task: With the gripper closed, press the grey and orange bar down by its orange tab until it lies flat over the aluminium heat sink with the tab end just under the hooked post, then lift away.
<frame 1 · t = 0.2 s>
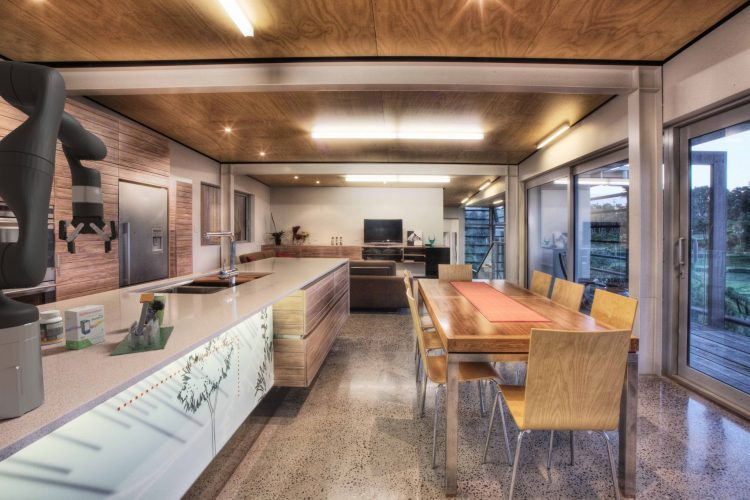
hand: (90, 253, 106), 28 cm above the counter, fingers open, 8 cm apart
grey and orange bar: (143, 313, 107), point 9 cm above the counter, hinge at 30.0°
ink box: (86, 345, 105), on the counter
beverage can: (155, 325, 126), on the counter
pill bottle: (51, 342, 107), on the counter
heatsink board: (144, 342, 106), on the counter
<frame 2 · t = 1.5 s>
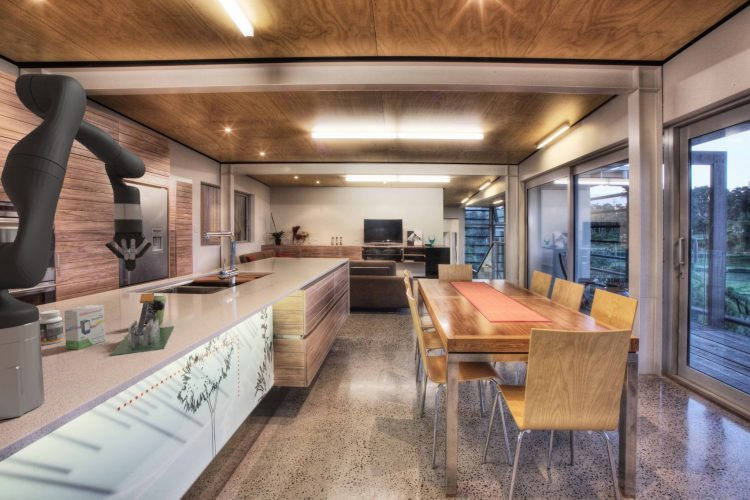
hand: (131, 270, 111), 22 cm above the counter, fingers closed
nothing on the counter moved.
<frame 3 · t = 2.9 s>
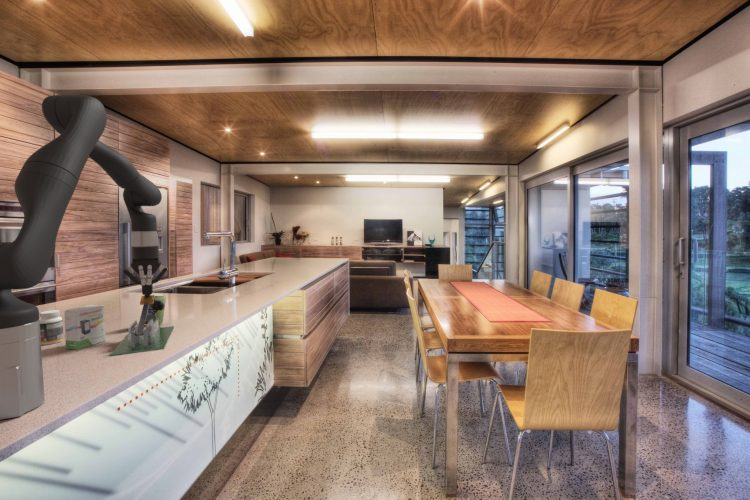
hand: (147, 295, 114), 13 cm above the counter, fingers closed
grey and orange bar: (144, 314, 108), point 9 cm above the counter, hinge at 27.4°, touching gripper
everything else where it was.
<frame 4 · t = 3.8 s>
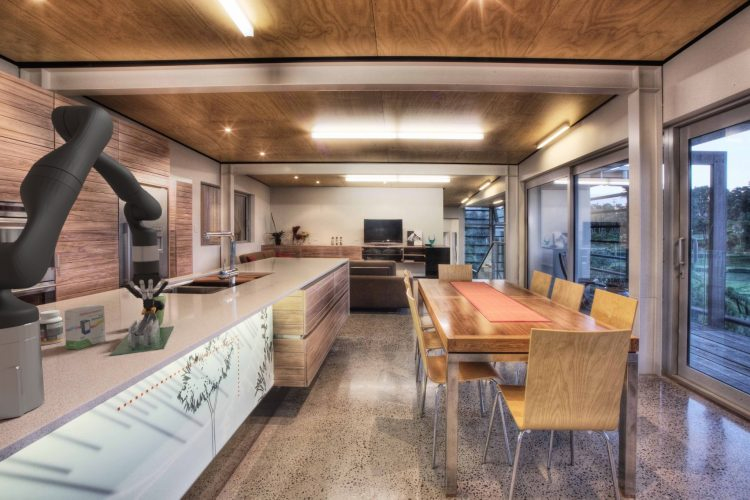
hand: (148, 309, 115), 9 cm above the counter, fingers closed
grey and orange bar: (144, 320, 108), point 6 cm above the counter, hinge at 12.0°, touching gripper
everything else where it was.
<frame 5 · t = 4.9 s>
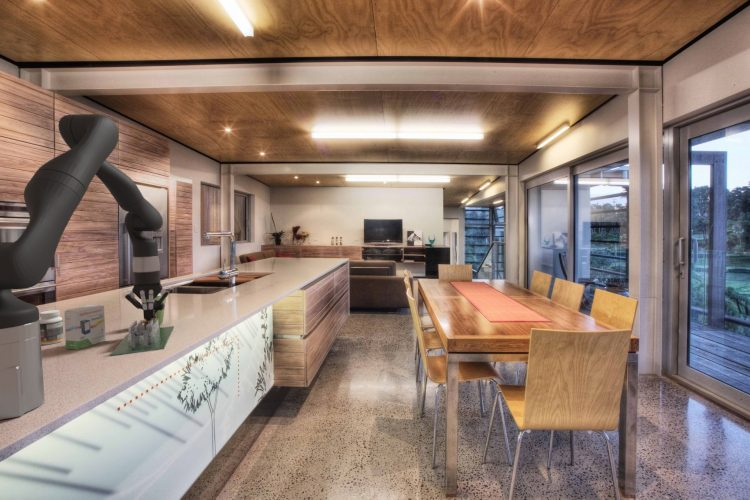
hand: (149, 319, 115), 5 cm above the counter, fingers closed
grey and orange bar: (145, 326, 109), point 5 cm above the counter, hinge at 0.2°, touching gripper
everything else where it was.
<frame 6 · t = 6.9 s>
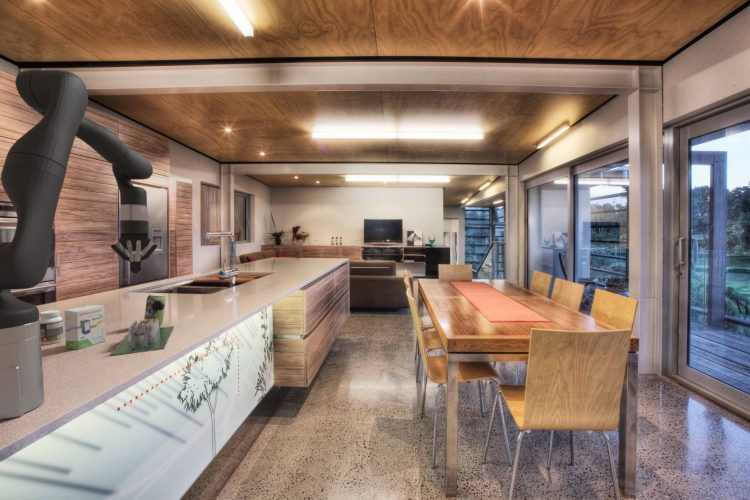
hand: (136, 273, 109), 22 cm above the counter, fingers closed
grey and orange bar: (145, 326, 109), point 5 cm above the counter, hinge at 0.1°
everything else where it was.
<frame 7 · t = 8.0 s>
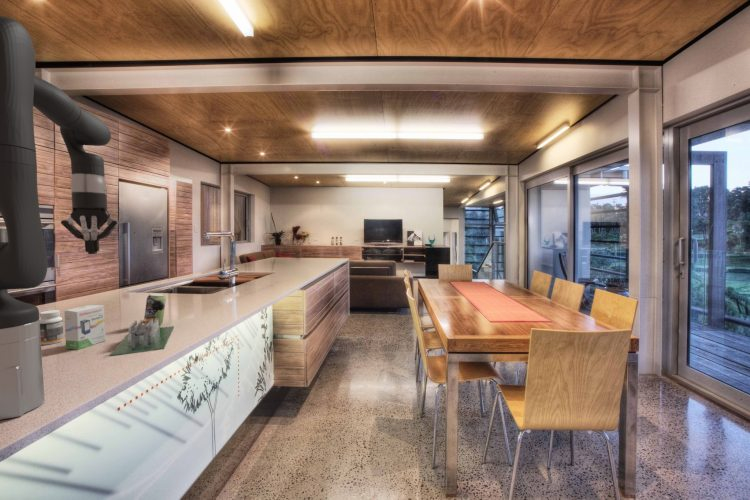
hand: (92, 253, 95), 29 cm above the counter, fingers closed
nothing on the counter moved.
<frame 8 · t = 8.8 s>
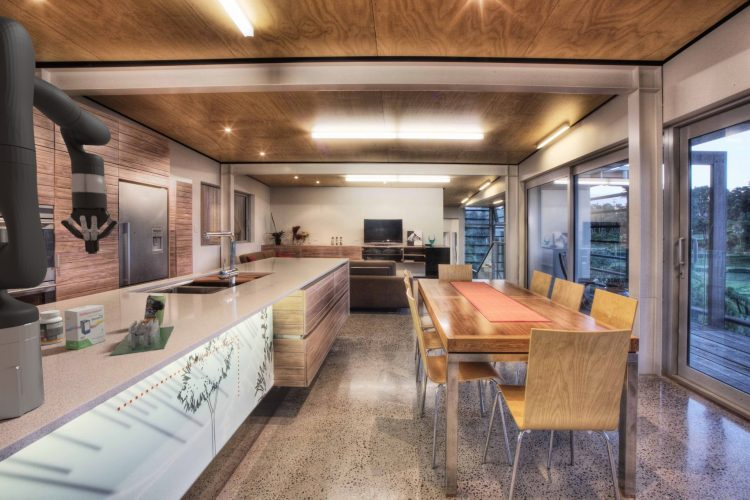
hand: (92, 253, 95), 29 cm above the counter, fingers closed
nothing on the counter moved.
at the end: grey and orange bar at +0° (first picture: +30°) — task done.
